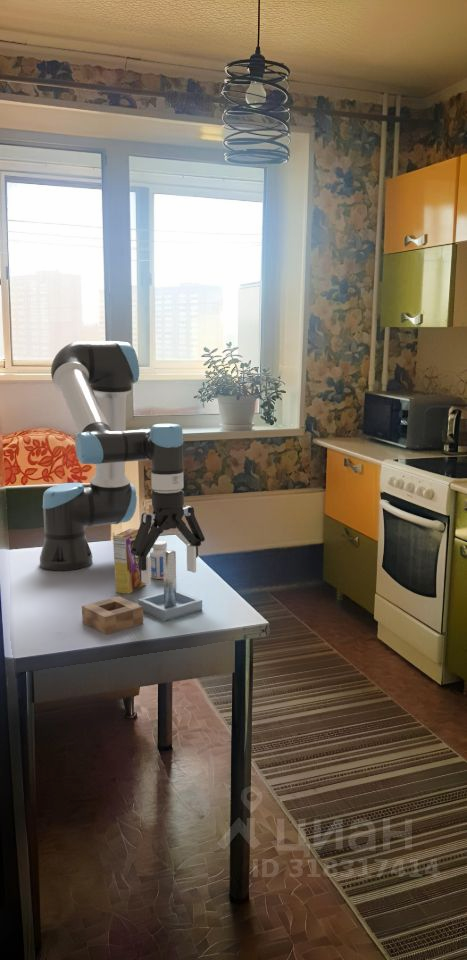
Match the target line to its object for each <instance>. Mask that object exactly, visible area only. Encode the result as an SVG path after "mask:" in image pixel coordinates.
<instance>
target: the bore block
mask: <svg viewBox="0 0 467 960" xmlns="http://www.w3.org/2000/svg"><path fill="white" fill-rule="evenodd" d="M81 616H82V617H81V618H82V620H81V621H82V623H83V624H85V625H87V626H89V627H90V628H92V629H95V630H97V631H98V632H101V633H102V634H104V635H109V634H112V633H115V632H119V631H122V630H125V629H129V628H132V627H135V626H139V625H142V624H144V612H143V607H142V606H140V605H138V603H135V602H133V601H131V600H128V599H126V598H124V597H122V596H120V595H118V596H114V597H110V598H107V599H101V600H99V601H98V600H97V601H95V602H91V603H87V604H83V605H82V606H81Z"/></svg>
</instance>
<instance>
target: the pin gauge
mask: <svg viewBox="0 0 467 960" xmlns="http://www.w3.org/2000/svg"><path fill="white" fill-rule="evenodd" d="M176 552H177V551H175V550H173V549H168V550H166V551H163V577H164V579H163V592H164V608H165V609H168V608H171V607H175V606H177V602H176V590H177V560H176V559H177V558H176V554H177V553H176Z"/></svg>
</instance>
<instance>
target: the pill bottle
mask: <svg viewBox="0 0 467 960" xmlns="http://www.w3.org/2000/svg"><path fill="white" fill-rule="evenodd" d="M167 548H168V545H167V541H165V540H156V542H155V543H154V545H153V547H152V548H151V550H150V552H149V557H150V569H151V578H152V579H155V580H164V577H163V551H166V550H169V549H167Z"/></svg>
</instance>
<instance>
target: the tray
mask: <svg viewBox="0 0 467 960" xmlns="http://www.w3.org/2000/svg"><path fill="white" fill-rule="evenodd" d="M176 602H177V606H175V607H171V608H168V609H165V608H164V591H163V592H160V593H156V594H153V595H148V596H146V597H142V598H138V599H137V604H138V605H140V606H142V607H143V613H146V614H149V616H150V615H151V616H153V617H154V618H157V619H159V620H161V621H163V622H168V621H171V620H174V619H178V618H181V617H184V616H187V615H191V614H194V613H197V612H202V611H203V600H202V599H200V598H197V597H195V596H192V595H189V594H187V593H185V592H181V591H179V590H177V589H176Z"/></svg>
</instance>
